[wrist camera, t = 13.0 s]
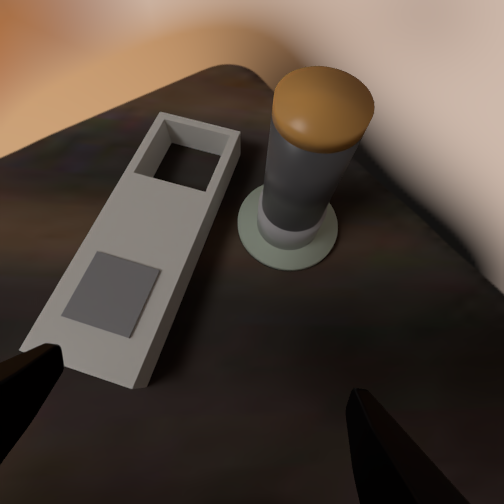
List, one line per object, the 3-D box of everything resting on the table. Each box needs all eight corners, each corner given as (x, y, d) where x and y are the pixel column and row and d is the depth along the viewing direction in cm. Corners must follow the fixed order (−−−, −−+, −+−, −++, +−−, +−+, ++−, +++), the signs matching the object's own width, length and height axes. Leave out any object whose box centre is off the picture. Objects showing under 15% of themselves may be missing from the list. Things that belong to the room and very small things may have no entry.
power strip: (240, 154, 29) (240, 130, 26) (146, 387, 21) (130, 389, 18) (167, 135, 30) (159, 109, 27) (47, 353, 21) (16, 350, 19)
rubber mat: (343, 198, 28) (345, 194, 27) (325, 284, 24) (327, 281, 24) (253, 174, 28) (254, 170, 28) (224, 254, 25) (224, 251, 24)
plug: (323, 205, 27) (385, 76, 15) (310, 257, 24) (372, 155, 13) (266, 189, 27) (284, 53, 16) (249, 240, 25) (255, 125, 13)
